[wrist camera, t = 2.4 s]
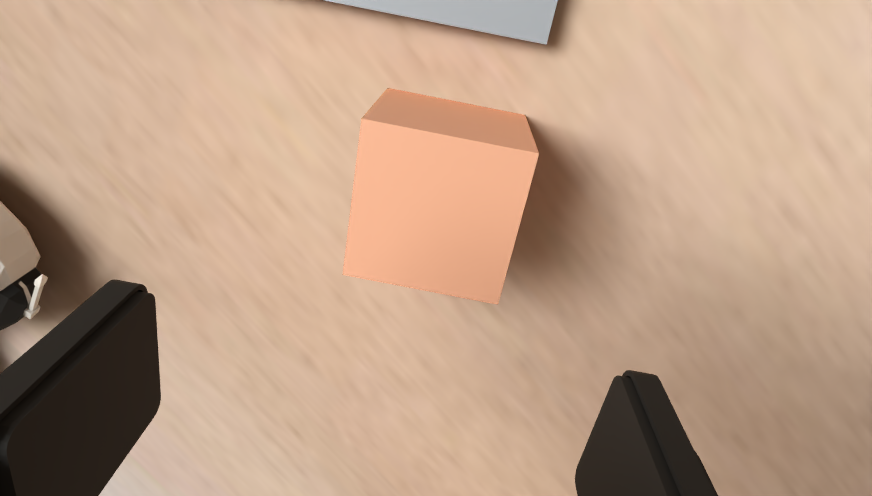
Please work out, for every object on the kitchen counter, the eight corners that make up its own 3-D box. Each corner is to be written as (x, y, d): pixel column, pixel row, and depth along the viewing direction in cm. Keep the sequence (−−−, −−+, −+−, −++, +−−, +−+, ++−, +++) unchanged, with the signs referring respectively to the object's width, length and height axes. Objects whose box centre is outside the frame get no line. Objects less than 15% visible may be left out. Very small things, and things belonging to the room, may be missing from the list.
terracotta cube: (524, 114, 24) (539, 153, 18) (493, 238, 26) (497, 304, 21) (388, 87, 24) (361, 118, 18) (370, 214, 26) (342, 274, 21)
